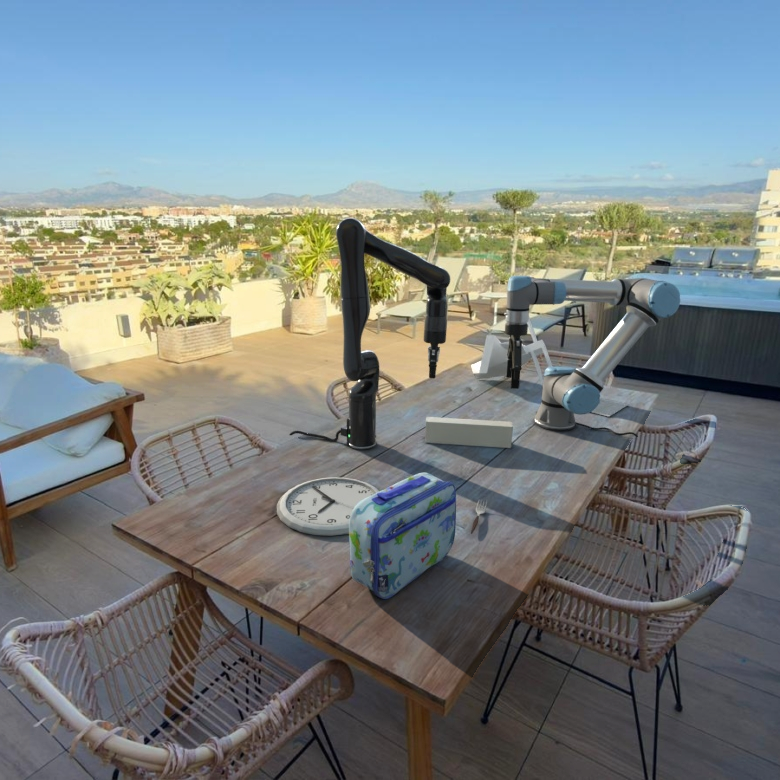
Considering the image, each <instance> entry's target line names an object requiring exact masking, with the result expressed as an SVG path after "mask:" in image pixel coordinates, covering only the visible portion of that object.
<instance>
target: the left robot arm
mask: <svg viewBox="0 0 780 780" xmlns="http://www.w3.org/2000/svg"><path fill="white" fill-rule="evenodd" d="M335 239H336V241H337V246H338V251H339V257H340V269H341V270H340V307H341V316H342V331H343V333H342V335H343V351H342V362H343V364H342V365H343V366H342V367H343V371H344V374H345V376H346V378H347V379H348V380H349V381H351V382H356V383H355V384H354V385H353V386H352V387H351V388H350V389H349V390H348V418H346V425H343V426H341V427H340V429H339V430H337V431H336V433H335V438H330V437H328V436H325V435H323V434H316V433H311V432H305V431H301V430H293V431H291V432H290V433H289V434H288V436H293V435H295V434H299V435H302V436H308V437H314V438H319V439H323V440H325V441H328V442H336V441H338V440H339V436H342V437H345V438H346V445H347V446H349V447H350V448H351V449H355V450H359V451H362V450H370V449H373V448H375V447H376V445H377V441H376V439H377V394H378V391H379V385H380V384H379V383H380V382H379V381H380V361H379V357H378V355H377V354H376V353H375V351H372V350H370V349H369V350H362V338H363V337H362V336H363V333H364V331H365V328H366V325H367V323H368V320H369V318H370V314H371V302H370V301H371V300H370V290H369V282H368V277H367V276H368V275H367V272H366V267H365V266H366V264H365V255H367V256H369V257H372V258H373V259H376V260H378V261H380V262H382V263H384V264H385V265H387V266H389V267H390V268H392V269H394V270H396V271H398V272H400V273H402V274H404V275H406V276H408V277H410V278H413V279H415V280H417V281H419V282H420V283H422V284H424V285H425V286H426V304H425V317H424V322H423V324H424V327H423V342H424V343H426V344H430V345H428V347H427V354H428V356H427V361H428V378H429V379H436V375H437V367H438V365H437V364H438V362H439V357H440V353H441V346H439V345H443V344H445V343H446V341H447V328H448V299H447V291H448V290H447V288H448V287H449V286H450V284H451V275H450V273H449V272H448V271H447V270H446V269H445V268H443V267H441V266H438V265H436V264H433V263H431V262H429V261H427V260H425V259H424V258H423V257H421V256H419V255H418V254H416V253H414V252H411V251H409V250H407V249H405V248H403V247H401V246H399V245H396V244H393V243H390V242H387V241H386V240H383V239H381V238H379V237H377V236H376V235H374V234H373V233H371V232H370V231H369V230H367V229H366V228H365V226H364V225H363V224H362V222H361V221H359V220H358V219H356V218H355V217H348V218H347V217H346V218H344V219H343V220H341V221H340V222H339V223H338V225H337V227H336V230H335ZM307 433H308V434H307Z"/></svg>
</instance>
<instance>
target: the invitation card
mask: <svg viewBox="0 0 780 780" xmlns="http://www.w3.org/2000/svg"><path fill="white" fill-rule="evenodd" d="M628 406H629V404H627V403H623V402H618V401H614V400H609V399H605V398H601V397H600V402H599V404H598V406H597V407H596V408H595V409H594V410H593V411H591V412H590V413H593V414H596V415H600V416H604V417H608V418H609V417H611V416H613V415H614V414H616V413H617V412H619V411H621V410H623V409H624V408H626V407H628Z"/></svg>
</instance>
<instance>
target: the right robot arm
mask: <svg viewBox="0 0 780 780" xmlns="http://www.w3.org/2000/svg"><path fill="white" fill-rule="evenodd" d="M564 302H583V303H585V302H586V303H607V304H609V306H611V307H612V306H614V307H615V306H616V307H623V308H626V313H625V314H624V316H623V317H622V319H621V320H619V322H618V323H617V324H616V326H615V327H614V328H613V329H612V331H611V332H610V333H609V334H608V336H607V337H606V338H605V339H604V341H603V342H602V343H601V344H600V345H599V346H598V348H597V349H596V351H595V352H593V354H592V355H591V356H590V358H589V359H588V360H587V361H586V363H584V365H583V366H582V367H577V368H575V367H570V366H553V367H548V366H547V368H545V370H544V373H543V377H544V381H543V387H542V394H541V402H540V405H539V407H538V410H537V411H535V416H534V424H535V425H536V426H537V427H539V428H542V429H544V430H549V431H556V432H567V431H572V430H574V429H575V428H576V425H577V426H581V427H584V428H586V429H590V430H594V431H601V430H606V431H608V432H611V433H612V434H613V435H617V436H625V435H626V436H627V435H633V436H634V437H636V438H638V437H639V435H638V434H637V433H635V432H633V431H627V432H616V431H614V430H613V429H611V428H609V427H603V426H601V427H592V426H590V425H587V424H584V423H580V422H577V421H576V418H575V417H576V416H575V415H578V416H579V415H581V416H582V415H587V414H590V413H592V412H591V411H593V410H594V409H595V408H596V407H597V406H598V404H599V402H600V398H601V394H600V393H601V392H602V391H603V390H604V382H605V380H606V379H607V378H608V377H609V376H610V374H611V373H612V372H613V371H614V370H615V369H616V367H617V366H618V364H619V363H620V362H621V361H622V360H623V359H624V358H625V356H626V355H627V353H629V351H630V350H631V348H633V346H634V345H635V344H636V343H637V341H639V339H640V338H641V337H642V336H643V334H644V333H645V332H646V331H647V330H648V328H650V327H656V325H658V323H660V321H661V320H662V319H666V318H670V317H672V316H673V315H674V314H675V313H676V312H677V311H678V309H679V307H680V304H681V293H680V291H679V288H678V287H677V286H676V285H674V284H673V283H671V282H668V281H665V280H657V279H651V278H644V277H643V278H642V277H637V278H614V279H612V280H611V281H609V280H608V281H607V280H585V279H584V280H583V279H563V278H541V277H539V278H538V277H537V278H536V277H534V276H529V275H511V276H510V277H509V278H508V282H507V288H506V309H505V312H504V313H503V315H504V316H505V324H504V334H505V335H507V336H509V338H508V341H509V345H508V352H507V356H508V357H507V358H508V359H509V360H507V375H506V377H505V378H508V379H509V378H510V390H519V389H520V380H521V371H522V370H523V369H522V368H523V367H522V366H521V356H522V344H523V340H522V338H521V336H523V337H524V336H526V335H528V331H529V327H528V324H527V322H528V320H529V317H530V306H531V305H532V306H534V305H537V306H538V305H552V306H554V305H561V304H563V303H564Z"/></svg>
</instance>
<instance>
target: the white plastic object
mask: <svg viewBox="0 0 780 780" xmlns="http://www.w3.org/2000/svg"><path fill="white" fill-rule="evenodd" d="M527 324H528V331H529V333H530V336H531V339H532V342H531V343H529V344H527V345H525V344H523V343H522V356H521V367H523V366H524V365H525V364H527V363H529V362H530V361H531V360H532V362H533V364H534V367H535V370H536V373H537V376H538V379H539V382H540V385H541V386H542V388H543V381H544V373H543V371H542V369H541V365H540V363H539V359H538V356H540V355H544V358H545V361H546V364H547V368H548V367H554V366H553V362H552V361H551V358H550V354H549V352H548V349H547V346H546V343H545V342H544V340H543V339H540V340H538V338H537V335H536V333H535V329H534V326H533V324H532V321H531V318H530V316H529V320H528V322H527ZM508 345H509V340H508V341H504V342H501V341H500V339H499V338H498V337H497V336H496V335H495V334H486V337H485V342H484V345H483V351H482V355H481V356H482V357H481V360H480V361H477V362H475V363H472V364H471V365H470V367H471V370H472V375H473V376H474V377H475V379H476V380H482V379H490V378H492V379H493V378H501V377H503V378H507V377H506V375H507V360H509V359H508V358H507V357H508V356H507V352H508Z"/></svg>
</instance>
